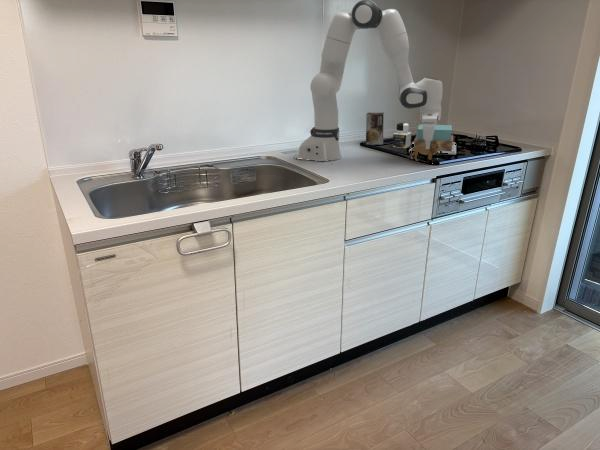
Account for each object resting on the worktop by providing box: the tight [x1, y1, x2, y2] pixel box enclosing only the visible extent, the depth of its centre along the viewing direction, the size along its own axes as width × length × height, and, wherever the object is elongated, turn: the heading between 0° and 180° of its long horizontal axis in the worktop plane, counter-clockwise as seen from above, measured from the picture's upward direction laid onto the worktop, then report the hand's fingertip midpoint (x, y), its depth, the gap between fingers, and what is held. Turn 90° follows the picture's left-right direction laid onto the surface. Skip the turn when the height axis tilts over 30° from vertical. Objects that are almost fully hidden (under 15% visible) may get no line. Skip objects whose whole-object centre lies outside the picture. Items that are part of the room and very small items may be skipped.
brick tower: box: [408, 124, 457, 155], centre depth 223 cm, size 22×22×11 cm
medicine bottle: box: [392, 122, 412, 149], centre depth 229 cm, size 7×7×12 cm
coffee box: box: [365, 112, 385, 145], centre depth 237 cm, size 9×6×16 cm
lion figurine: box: [406, 141, 441, 162], centre depth 202 cm, size 15×5×9 cm, turn 80°
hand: (428, 146), depth 201 cm, fingers open, 8 cm apart
